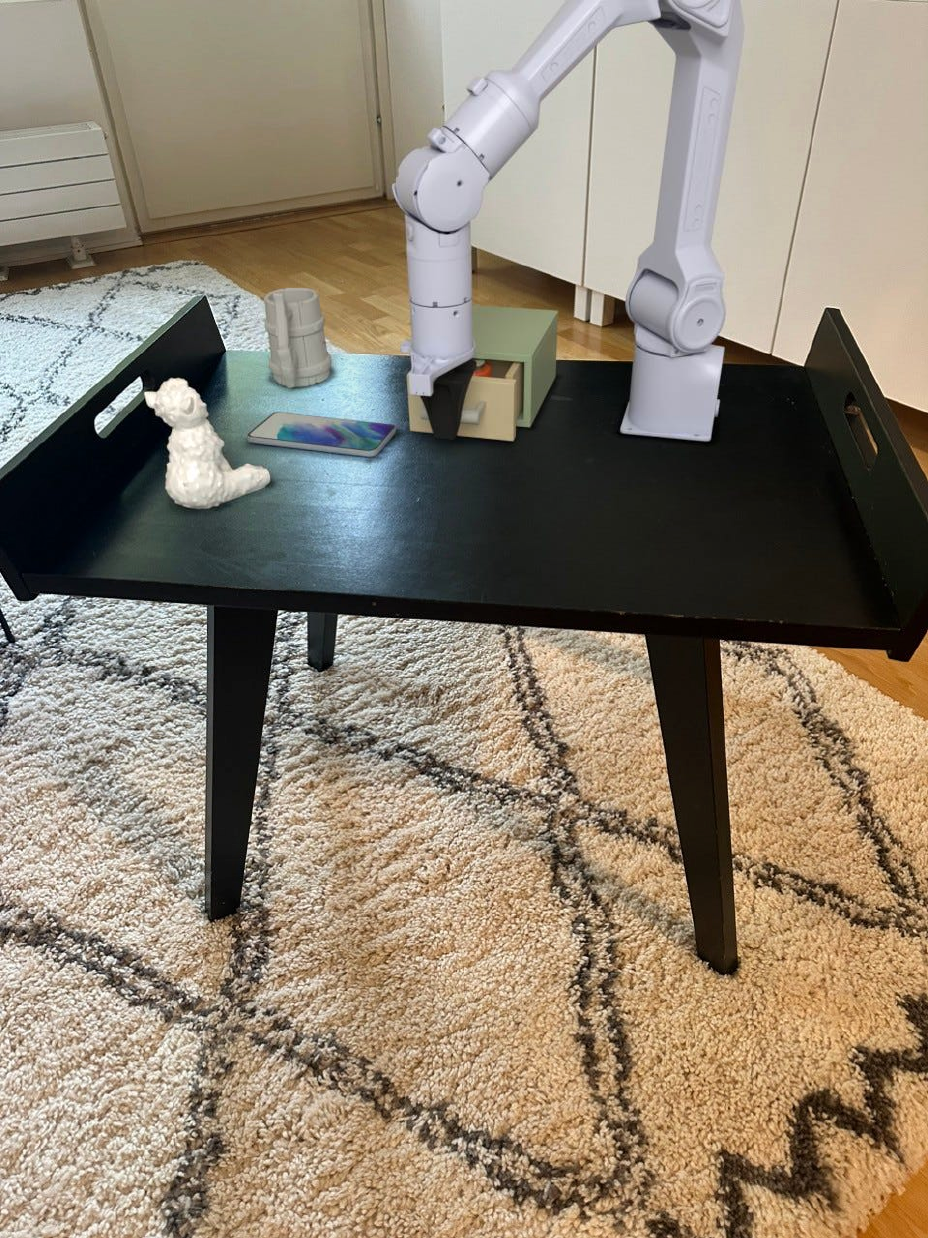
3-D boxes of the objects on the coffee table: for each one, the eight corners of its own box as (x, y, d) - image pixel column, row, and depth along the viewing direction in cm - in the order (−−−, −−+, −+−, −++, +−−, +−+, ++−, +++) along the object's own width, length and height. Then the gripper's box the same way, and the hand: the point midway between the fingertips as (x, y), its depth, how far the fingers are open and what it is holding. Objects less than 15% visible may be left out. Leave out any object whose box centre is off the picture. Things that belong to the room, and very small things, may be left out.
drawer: (504, 459, 90) (504, 400, 86) (397, 448, 93) (392, 390, 89) (539, 390, 104) (541, 337, 100) (445, 382, 106) (443, 330, 102)
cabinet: (530, 427, 98) (531, 355, 93) (420, 416, 101) (416, 346, 96) (555, 376, 109) (558, 310, 104) (456, 368, 112) (454, 303, 107)
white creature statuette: (275, 483, 89) (256, 367, 82) (222, 525, 83) (196, 403, 76) (199, 466, 92) (173, 353, 85) (142, 505, 86) (110, 386, 79)
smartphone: (273, 410, 101) (398, 424, 97) (275, 417, 101) (399, 431, 98) (243, 436, 95) (374, 452, 92) (244, 444, 96) (374, 459, 92)
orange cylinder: (494, 401, 99) (494, 355, 96) (485, 416, 96) (485, 369, 93) (460, 398, 100) (458, 352, 97) (450, 413, 97) (448, 366, 93)
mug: (337, 363, 114) (326, 266, 107) (322, 401, 105) (309, 297, 97) (277, 364, 114) (263, 267, 107) (257, 402, 105) (240, 298, 98)
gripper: (422, 271, 87) (429, 403, 95) (371, 321, 76) (383, 465, 84) (492, 275, 86) (493, 409, 94) (450, 327, 75) (455, 472, 83)
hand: (446, 436), depth 89 cm, fingers closed
